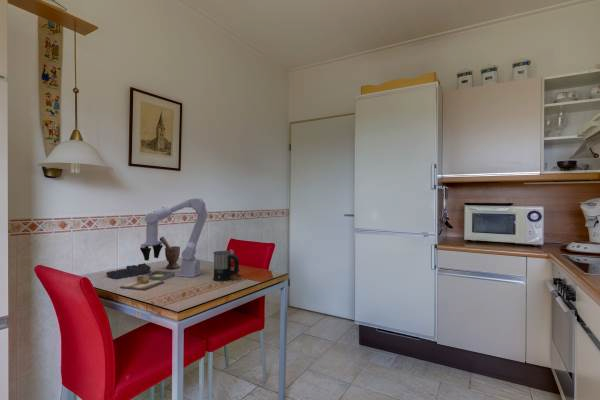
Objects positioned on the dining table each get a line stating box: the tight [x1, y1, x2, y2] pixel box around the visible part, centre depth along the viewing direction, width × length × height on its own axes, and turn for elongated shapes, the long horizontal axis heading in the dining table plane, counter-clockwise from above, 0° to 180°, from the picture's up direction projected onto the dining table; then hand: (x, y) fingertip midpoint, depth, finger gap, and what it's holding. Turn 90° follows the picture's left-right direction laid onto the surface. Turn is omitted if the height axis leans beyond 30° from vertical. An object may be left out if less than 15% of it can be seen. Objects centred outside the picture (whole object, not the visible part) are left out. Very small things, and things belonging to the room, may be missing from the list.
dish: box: [144, 270, 176, 282], centre depth 168 cm, size 12×12×2 cm
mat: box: [119, 281, 165, 291], centre depth 153 cm, size 14×14×1 cm
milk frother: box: [212, 250, 241, 282], centre depth 171 cm, size 14×16×15 cm
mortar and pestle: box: [159, 236, 181, 270], centre depth 190 cm, size 12×9×20 cm
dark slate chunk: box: [105, 263, 151, 280], centre depth 175 cm, size 15×22×5 cm
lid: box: [120, 275, 164, 289], centre depth 153 cm, size 13×13×4 cm
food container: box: [229, 248, 235, 267], centre depth 200 cm, size 12×6×10 cm, turn 148°
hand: (151, 259), depth 171 cm, fingers open, 7 cm apart
